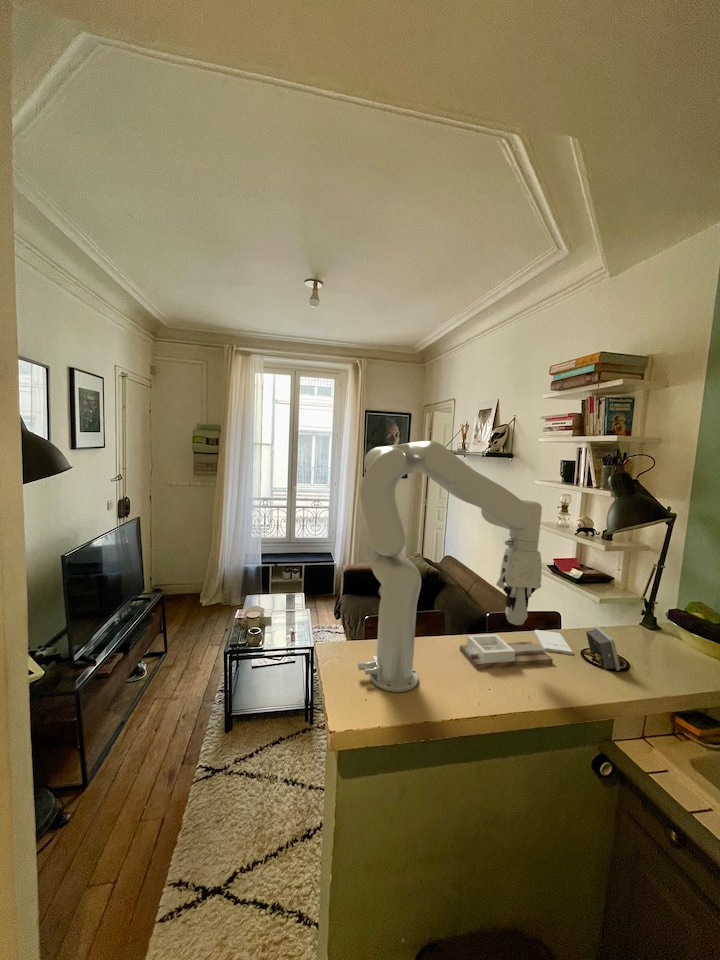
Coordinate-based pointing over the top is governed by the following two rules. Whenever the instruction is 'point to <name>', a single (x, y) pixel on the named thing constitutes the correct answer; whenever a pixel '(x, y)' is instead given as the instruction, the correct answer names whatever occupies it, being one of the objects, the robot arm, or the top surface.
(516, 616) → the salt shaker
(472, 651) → the rail
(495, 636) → the white square tray
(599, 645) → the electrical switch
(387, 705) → the top surface
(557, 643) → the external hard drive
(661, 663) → the top surface
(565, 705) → the top surface
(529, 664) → the rail board
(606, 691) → the top surface
